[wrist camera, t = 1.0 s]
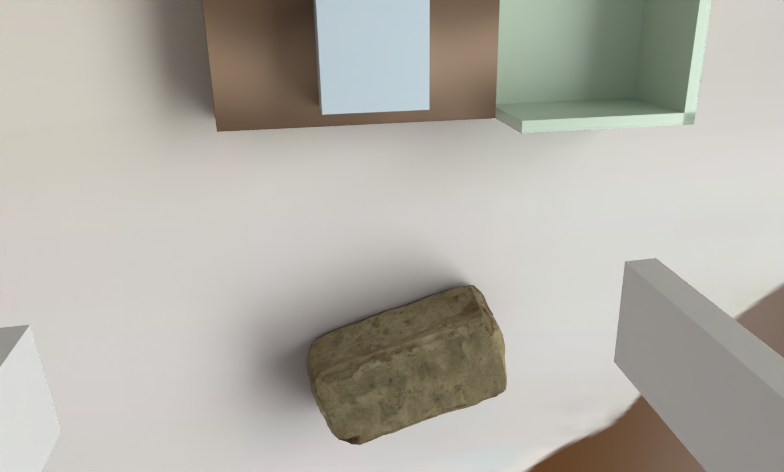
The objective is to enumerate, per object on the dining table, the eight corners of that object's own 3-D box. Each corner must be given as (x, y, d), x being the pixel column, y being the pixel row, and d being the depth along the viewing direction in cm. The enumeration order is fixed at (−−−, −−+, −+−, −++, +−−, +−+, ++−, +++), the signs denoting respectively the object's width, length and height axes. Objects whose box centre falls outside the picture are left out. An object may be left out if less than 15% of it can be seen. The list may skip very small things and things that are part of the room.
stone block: (299, 337, 40) (302, 381, 35) (475, 271, 40) (500, 307, 36) (331, 410, 42) (338, 461, 37) (498, 347, 42) (525, 390, 38)
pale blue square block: (313, -3, 30) (315, -3, 28) (418, -5, 31) (429, -5, 29) (319, 106, 32) (322, 114, 30) (419, 101, 33) (429, 109, 30)
